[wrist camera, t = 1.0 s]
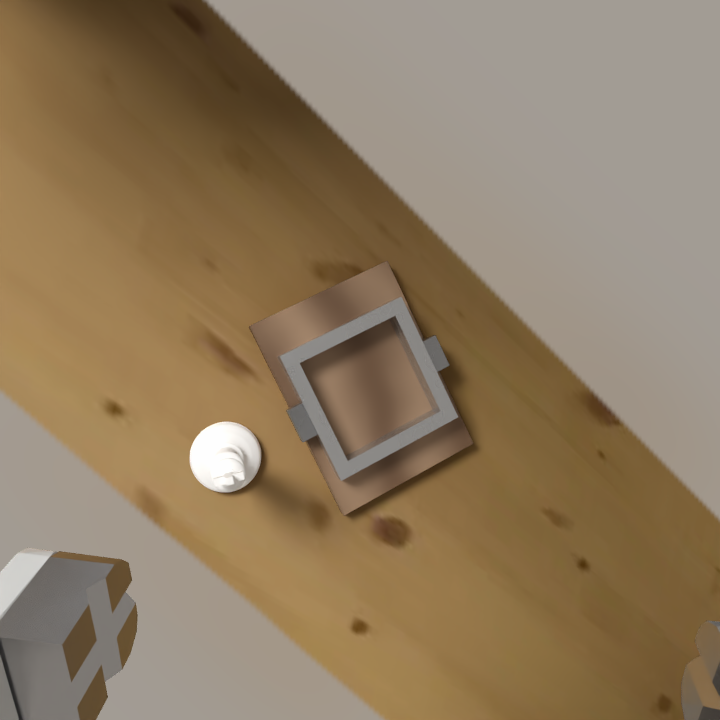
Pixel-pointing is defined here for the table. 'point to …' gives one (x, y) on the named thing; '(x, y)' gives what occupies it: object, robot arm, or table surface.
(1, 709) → the robot arm
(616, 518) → the table surface
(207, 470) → the chess piece
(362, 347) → the socket board
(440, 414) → the square frame tray
